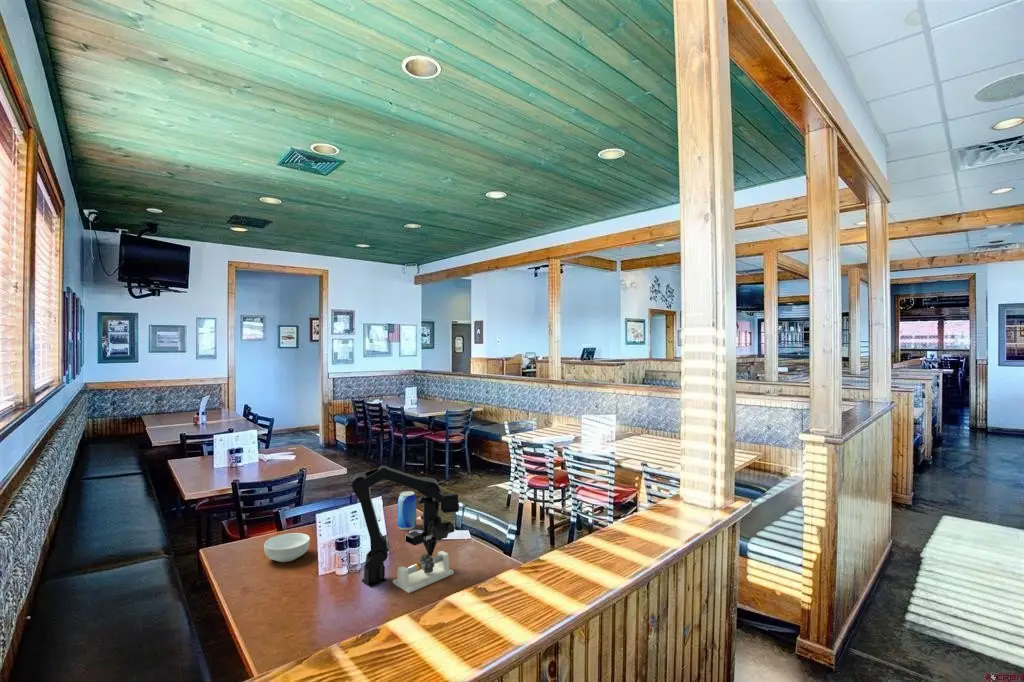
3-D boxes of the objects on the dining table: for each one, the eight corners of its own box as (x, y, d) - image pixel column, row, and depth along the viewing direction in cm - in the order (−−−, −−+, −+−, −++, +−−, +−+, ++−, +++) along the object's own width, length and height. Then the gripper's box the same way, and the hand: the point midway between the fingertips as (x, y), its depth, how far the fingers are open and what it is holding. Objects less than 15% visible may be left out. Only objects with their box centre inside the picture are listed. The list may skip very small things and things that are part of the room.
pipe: (405, 577, 174) (405, 570, 174) (400, 575, 176) (400, 568, 176) (445, 561, 187) (445, 554, 187) (441, 559, 189) (441, 552, 189)
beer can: (406, 532, 225) (406, 497, 225) (394, 528, 230) (394, 493, 230) (419, 526, 231) (420, 492, 231) (407, 522, 236) (408, 489, 236)
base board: (408, 593, 171) (408, 574, 171) (392, 583, 178) (392, 565, 178) (453, 573, 185) (453, 556, 185) (437, 565, 192) (437, 548, 192)
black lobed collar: (430, 576, 180) (430, 557, 180) (419, 570, 184) (419, 552, 184) (434, 575, 181) (434, 556, 181) (423, 569, 185) (423, 550, 185)
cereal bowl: (298, 567, 189) (298, 549, 189) (255, 567, 189) (255, 548, 189) (316, 549, 206) (316, 532, 206) (277, 548, 206) (277, 531, 206)
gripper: (423, 526, 171) (422, 571, 171) (464, 512, 185) (463, 554, 185) (404, 518, 179) (404, 561, 179) (445, 505, 192) (444, 545, 192)
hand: (430, 555), depth 184 cm, fingers closed
